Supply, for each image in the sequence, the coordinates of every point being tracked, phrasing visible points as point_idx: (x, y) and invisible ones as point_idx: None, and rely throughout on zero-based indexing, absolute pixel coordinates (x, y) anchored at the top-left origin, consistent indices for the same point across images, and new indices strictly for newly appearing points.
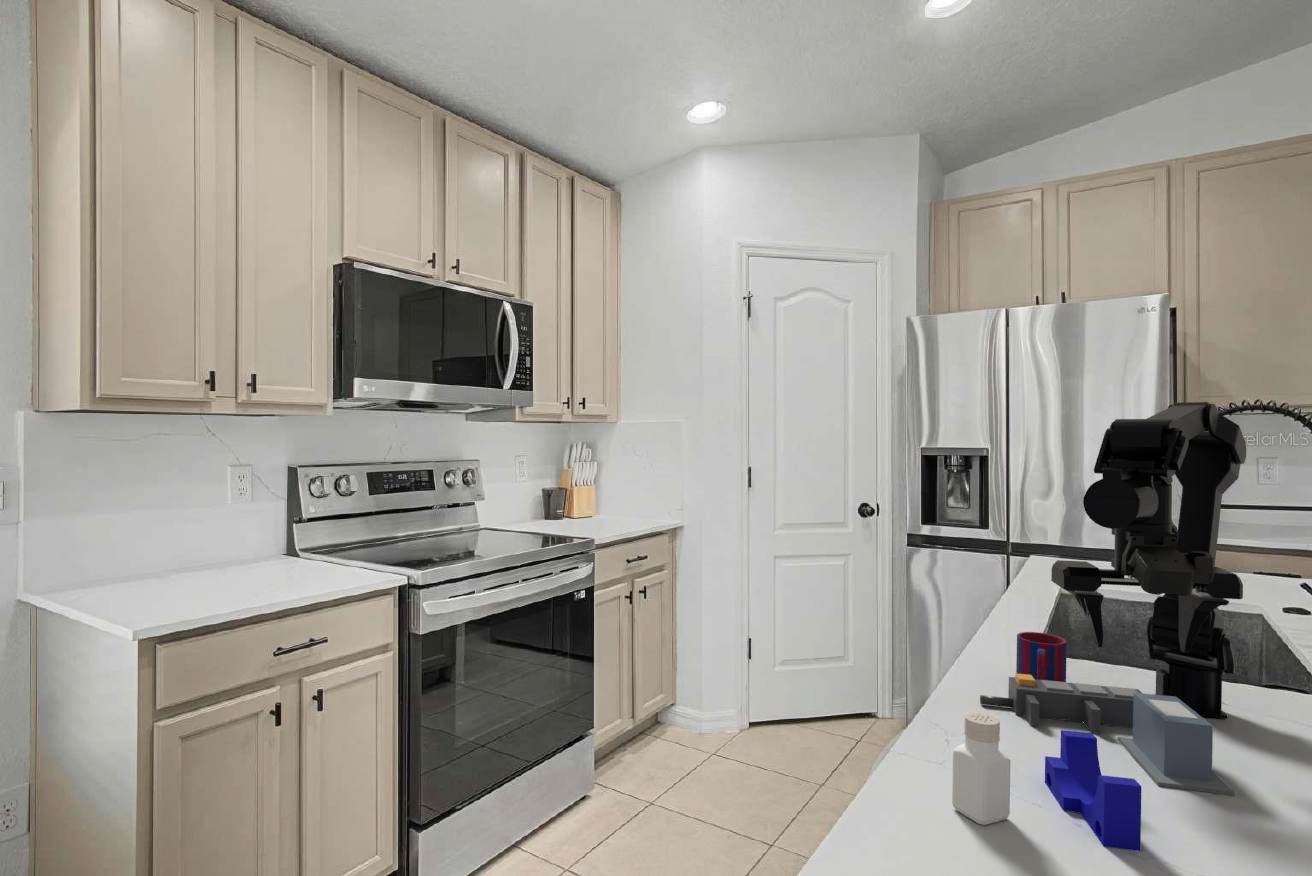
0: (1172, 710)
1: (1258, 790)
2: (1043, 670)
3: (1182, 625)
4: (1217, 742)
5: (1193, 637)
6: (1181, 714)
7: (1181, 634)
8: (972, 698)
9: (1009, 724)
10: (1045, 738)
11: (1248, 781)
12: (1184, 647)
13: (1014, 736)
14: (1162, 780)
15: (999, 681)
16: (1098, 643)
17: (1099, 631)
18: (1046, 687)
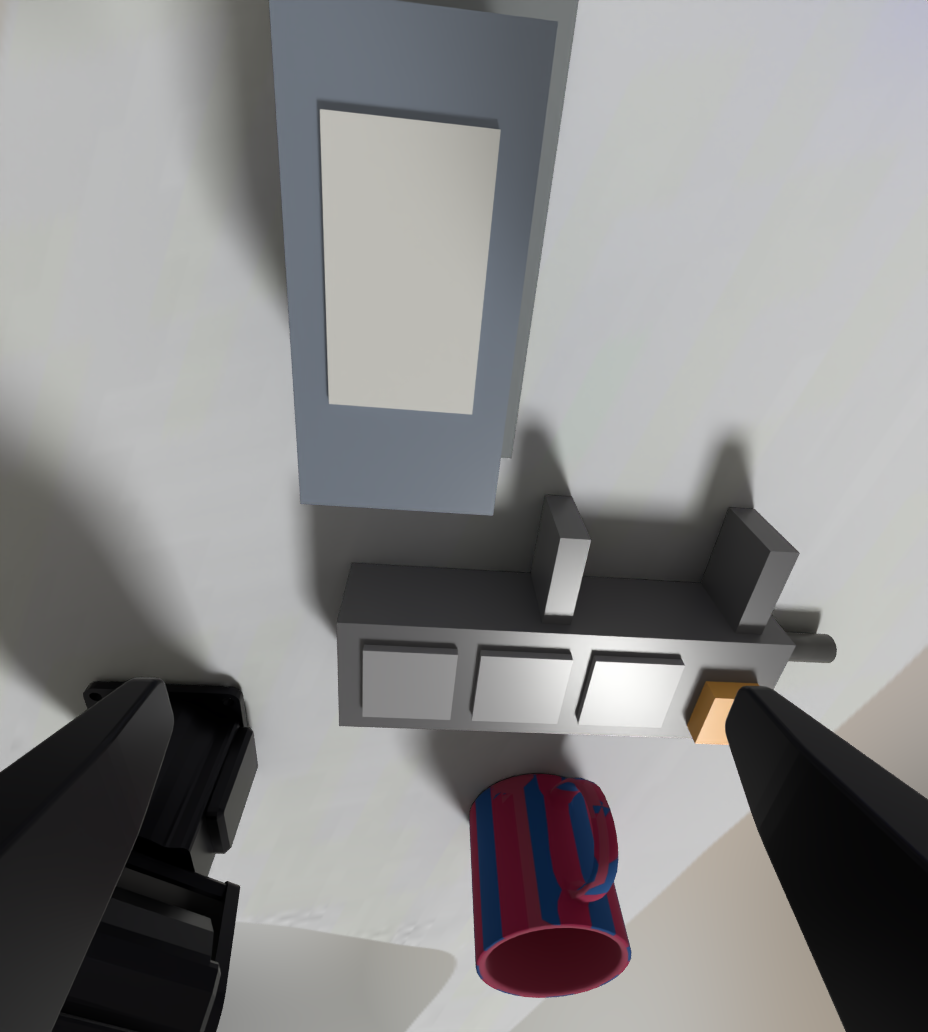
0: (421, 244)
1: (162, 57)
2: (595, 803)
3: (43, 953)
4: (175, 508)
5: (8, 780)
6: (399, 169)
7: (106, 846)
8: (809, 675)
9: (820, 507)
10: (766, 414)
11: (174, 155)
12: (144, 709)
13: (871, 407)
14: (550, 18)
15: (649, 795)
16: (787, 700)
17: (866, 782)
18: (682, 668)
